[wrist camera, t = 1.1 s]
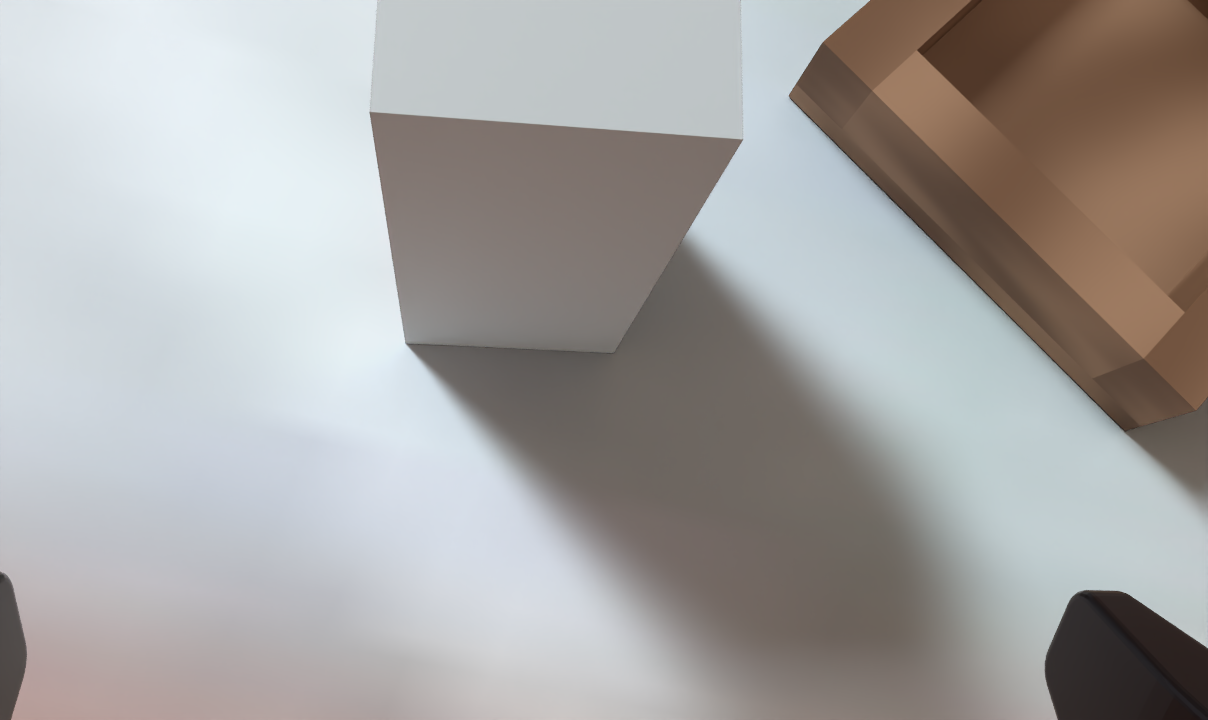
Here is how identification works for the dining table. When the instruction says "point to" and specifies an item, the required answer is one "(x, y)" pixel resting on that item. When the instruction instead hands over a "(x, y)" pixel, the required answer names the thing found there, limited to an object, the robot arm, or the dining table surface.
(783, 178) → the dining table surface
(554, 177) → the peg block
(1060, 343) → the square holder
